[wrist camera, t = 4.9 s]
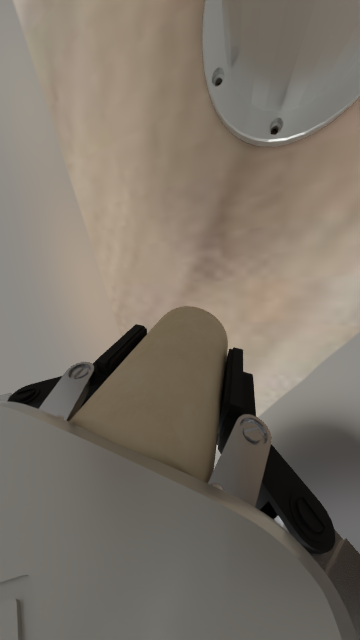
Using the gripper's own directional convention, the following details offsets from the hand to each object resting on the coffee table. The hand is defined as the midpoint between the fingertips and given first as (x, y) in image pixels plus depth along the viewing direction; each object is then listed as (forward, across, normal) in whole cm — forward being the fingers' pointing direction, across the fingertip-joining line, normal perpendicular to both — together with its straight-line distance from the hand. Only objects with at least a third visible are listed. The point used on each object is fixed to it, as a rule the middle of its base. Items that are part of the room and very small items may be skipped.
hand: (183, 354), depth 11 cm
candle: (+2, 0, 0) cm, 2 cm away
